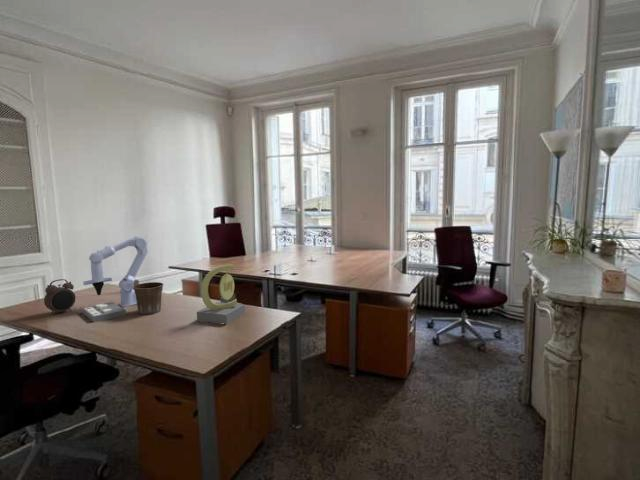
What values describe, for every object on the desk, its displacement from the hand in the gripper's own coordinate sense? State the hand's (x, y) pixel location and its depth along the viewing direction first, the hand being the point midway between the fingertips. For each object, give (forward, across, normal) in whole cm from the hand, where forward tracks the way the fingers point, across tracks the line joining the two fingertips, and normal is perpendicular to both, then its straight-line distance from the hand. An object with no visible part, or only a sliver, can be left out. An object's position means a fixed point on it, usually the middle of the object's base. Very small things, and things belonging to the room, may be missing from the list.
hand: (98, 294), depth 209 cm
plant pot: (+10, +19, -27) cm, 34 cm away
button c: (+9, -1, -18) cm, 20 cm away
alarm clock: (+10, -17, +11) cm, 22 cm away
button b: (+8, -1, -11) cm, 13 cm away
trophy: (+10, +42, -69) cm, 81 cm away
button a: (+9, -1, -4) cm, 10 cm away
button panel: (+9, -1, -11) cm, 15 cm away
